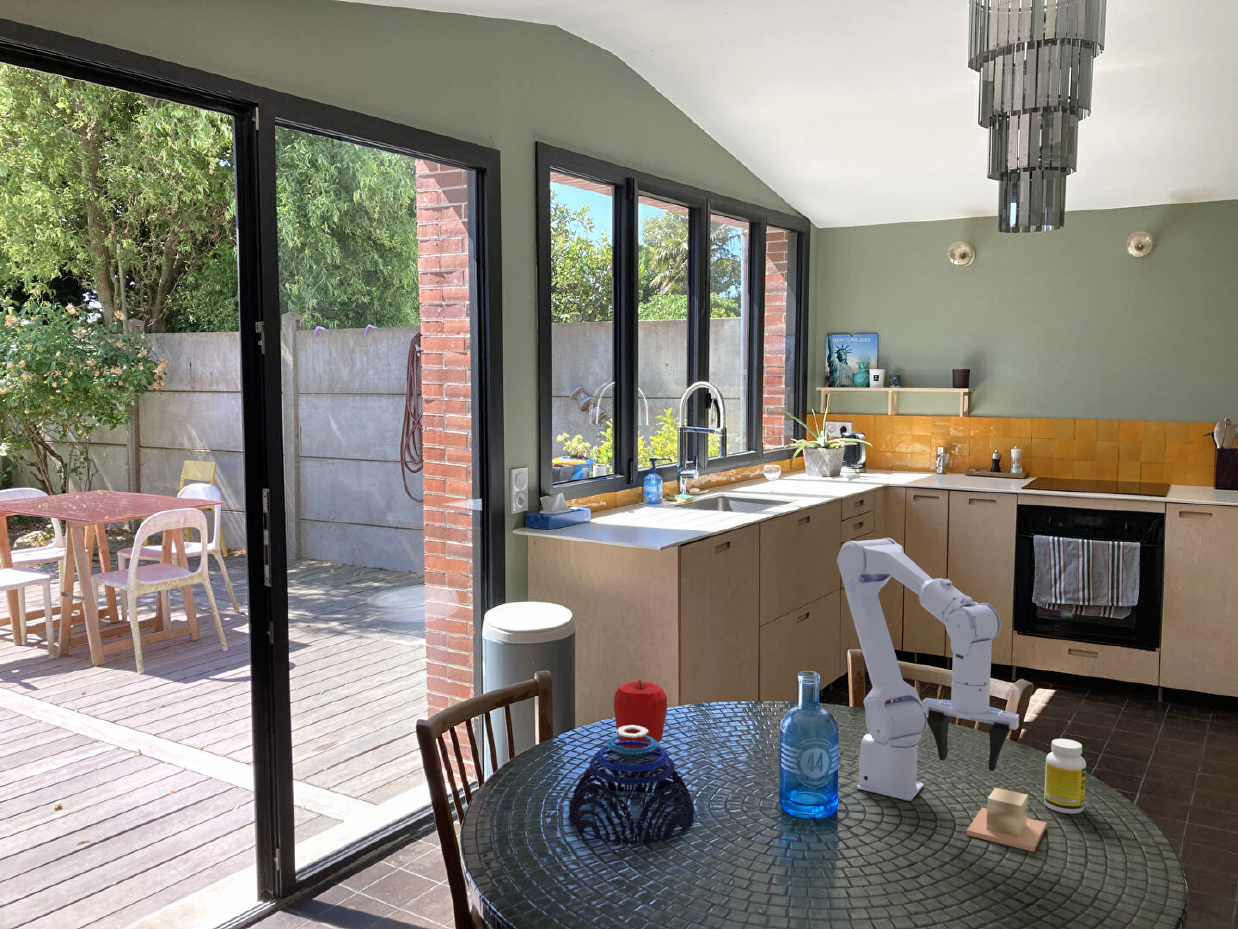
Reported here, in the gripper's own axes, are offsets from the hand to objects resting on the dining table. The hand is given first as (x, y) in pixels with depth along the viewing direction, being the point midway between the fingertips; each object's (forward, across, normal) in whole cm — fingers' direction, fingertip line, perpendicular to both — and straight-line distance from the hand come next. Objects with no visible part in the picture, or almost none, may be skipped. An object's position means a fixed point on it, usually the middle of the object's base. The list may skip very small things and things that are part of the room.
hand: (967, 763), depth 158 cm
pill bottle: (+11, +12, +17) cm, 23 cm away
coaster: (+10, +6, +2) cm, 12 cm away
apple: (+11, -61, -1) cm, 62 cm away
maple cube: (+10, +6, +2) cm, 11 cm away
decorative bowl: (+11, -46, -27) cm, 55 cm away
